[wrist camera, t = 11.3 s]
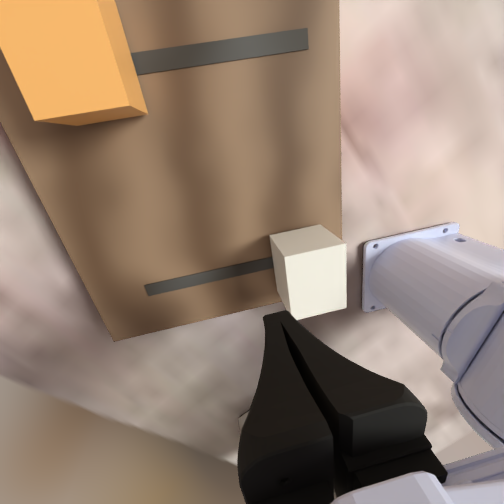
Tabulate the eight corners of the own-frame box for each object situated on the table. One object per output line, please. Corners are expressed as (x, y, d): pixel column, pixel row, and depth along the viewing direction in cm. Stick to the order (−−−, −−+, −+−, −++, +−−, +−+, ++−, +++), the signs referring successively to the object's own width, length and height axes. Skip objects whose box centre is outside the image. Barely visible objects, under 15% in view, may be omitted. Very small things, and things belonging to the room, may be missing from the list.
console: (322, -46, 15) (339, -73, 13) (332, 279, 25) (343, 291, 23) (-39, -3, 13) (-79, -28, 11) (122, 329, 23) (115, 346, 21)
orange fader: (115, 2, 13) (79, -54, 9) (148, 114, 15) (129, 105, 11) (31, 12, 12) (-41, -41, 9) (77, 126, 14) (34, 120, 11)
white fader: (319, 224, 19) (346, 243, 16) (322, 279, 22) (346, 307, 18) (269, 235, 19) (284, 257, 15) (277, 290, 21) (291, 321, 18)
